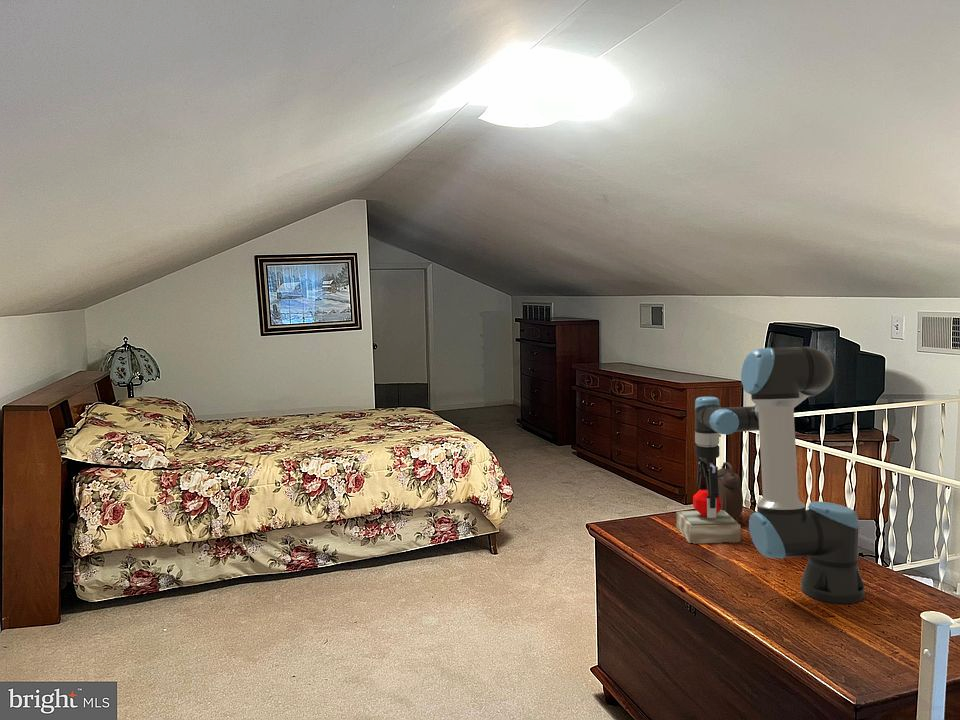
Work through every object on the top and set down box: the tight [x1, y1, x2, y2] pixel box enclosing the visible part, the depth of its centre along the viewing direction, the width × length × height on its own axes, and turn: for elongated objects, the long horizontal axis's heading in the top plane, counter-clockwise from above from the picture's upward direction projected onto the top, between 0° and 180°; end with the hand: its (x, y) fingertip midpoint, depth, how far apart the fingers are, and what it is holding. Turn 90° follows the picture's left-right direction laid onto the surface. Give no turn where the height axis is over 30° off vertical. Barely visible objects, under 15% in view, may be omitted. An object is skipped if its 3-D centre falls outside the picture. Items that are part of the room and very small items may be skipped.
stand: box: [675, 510, 742, 544], centre depth 241 cm, size 16×16×6 cm
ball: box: [692, 489, 721, 516], centre depth 241 cm, size 8×8×8 cm
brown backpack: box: [718, 461, 744, 523], centre depth 256 cm, size 15×7×20 cm, turn 179°
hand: (707, 513), depth 241 cm, fingers closed on ball, 8 cm apart
